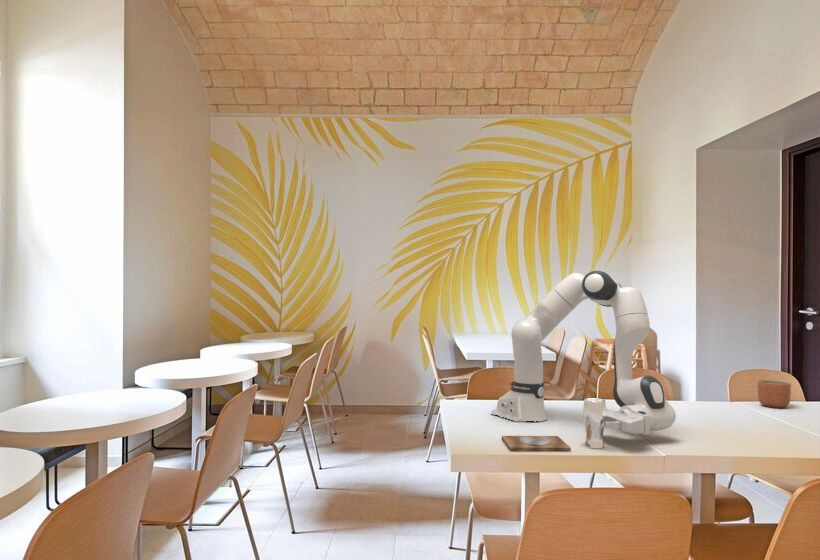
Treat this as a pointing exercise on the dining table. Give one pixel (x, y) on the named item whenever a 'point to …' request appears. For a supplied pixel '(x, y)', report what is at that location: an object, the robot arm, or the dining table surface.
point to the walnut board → (536, 443)
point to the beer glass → (594, 422)
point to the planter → (774, 393)
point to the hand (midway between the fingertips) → (595, 421)
